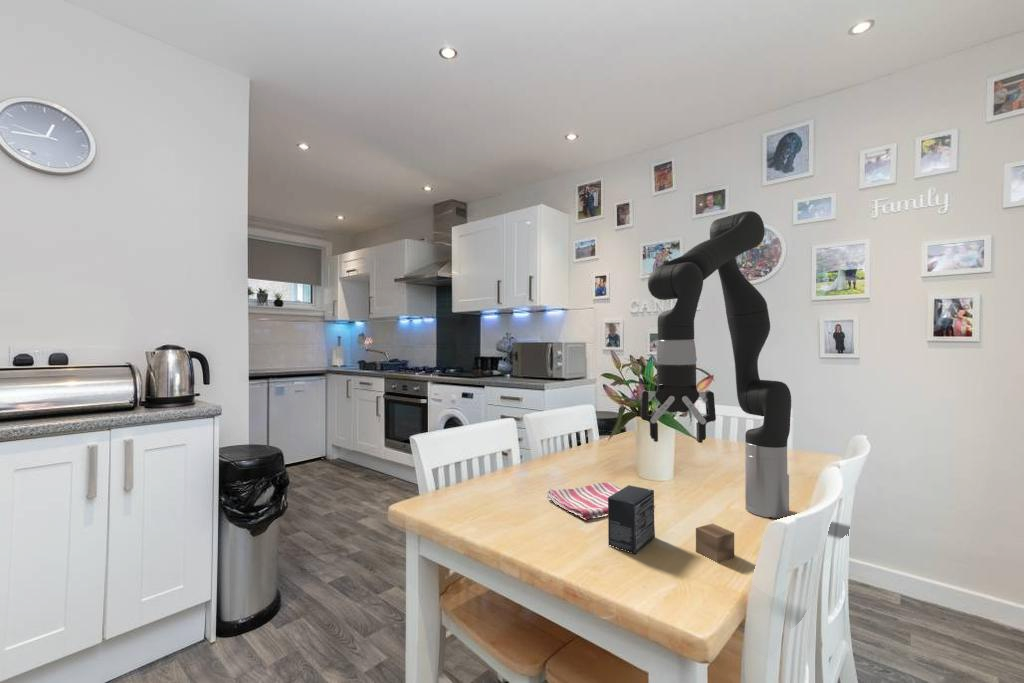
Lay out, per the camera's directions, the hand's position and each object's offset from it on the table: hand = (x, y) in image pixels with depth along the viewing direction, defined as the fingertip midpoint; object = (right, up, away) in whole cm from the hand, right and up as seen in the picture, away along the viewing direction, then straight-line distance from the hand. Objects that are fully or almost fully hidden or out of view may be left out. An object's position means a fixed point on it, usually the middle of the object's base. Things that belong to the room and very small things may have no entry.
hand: (677, 441), depth 90 cm
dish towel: (-11, -23, +28) cm, 38 cm away
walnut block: (+7, -23, -1) cm, 24 cm away
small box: (-8, -23, +5) cm, 25 cm away
